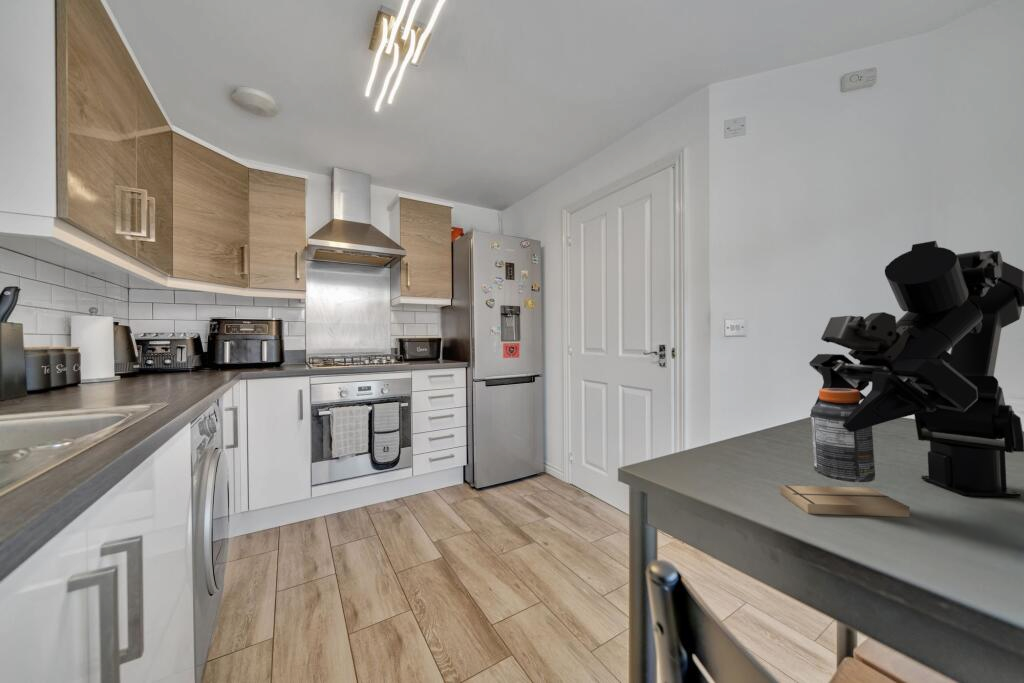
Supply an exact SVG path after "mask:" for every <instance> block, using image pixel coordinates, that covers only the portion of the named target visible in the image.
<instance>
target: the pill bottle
mask: <svg viewBox="0 0 1024 683" xmlns="http://www.w3.org/2000/svg"><path fill="white" fill-rule="evenodd" d="M860 392H861V391H860ZM860 392H859V390H855V389H844V388H825V389H822V388H820V389H818V393H819V394H818V396H819V399H820V402H819V403H818V404H816V405H815V404H814V405H812V407H811V409H810V414H811V417H810V423H811V424H810V425H811V438H812V453H813V454H812V455H813V470H814V471H815V473H816V474H817V475H819V476H821V477H823V478H826V479H830V480H833V481H837V482H842V483H851V484H866V483H871V482H873V481H874V480H875V478H876V470H875V454H874V450H875V449H874V438H873V426H870V427H867V428H864V429H860V430H857V431H854V432H849V431H847V430H846V429H845V428H844V427H843V424H844V422H845V421H846V420H847V418H848V417H849V416H850V414H851V413H852V412H853V411H854V410H855V409H856V407H857V406H858V405H859V404H860V403H861V401H862V400H861V398H860Z"/></svg>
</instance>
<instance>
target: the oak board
mask: <svg viewBox="0 0 1024 683" xmlns="http://www.w3.org/2000/svg"><path fill="white" fill-rule="evenodd" d="M779 488H780V490H779V491H780V495H781V496H782V497H784V498H785V499H787V500H788V501H790V503H792V504H794V505H795V506H797V507H798V508H799V509H800V510H802V511H804V512H805V513H806V514H811V515H813V514H814V515H815V514H816V515H817V514H818V515H840V516H841V515H843V516H844V515H845V516H846V515H847V516H872V517H873V516H876V517H878V516H879V517H902V518H903V517H904V518H906V517H907V518H908V517H909V518H911V517H910V516H911V515H910V514H911V513H910V506H908V505H907V504H904V503H902V502H900V501H898V500H896V499H894V498H892V497H890V496H889V495H885V494H884V493H881V492H880V491H877V490H875V489H873V488H870V487H856V486H855V487H854V486H851V487H848V486H844V487H843V486H813V485H810V486H809V485H780V486H779Z"/></svg>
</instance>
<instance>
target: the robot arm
mask: <svg viewBox="0 0 1024 683" xmlns="http://www.w3.org/2000/svg"><path fill="white" fill-rule="evenodd" d="M1001 253H1002V252H1001V251H1000V250H998V251H993V250H992V249H991V250H985V251H980V250H977V251H972V252H965V253H964V252H963V253H958V254H956V253H955V252H954V251H953V250H952V249H948V248H945V247H940V246H939V245H938V243H937V240H932V241H925V242H920V243H915V244H913V243H912V246H911V250H909V251H906V252H905V253H903V254H900V255H899V256H897V257H895V258H894V259H893V260H891V262H889V263H888V265H886V266H885V268H884V275H885V278H886V279H887V282H888V283H889V284H888V285H889V286H890V288H891V291H892V293H893V295H894V297H895V300H896V302H897V304H898V307H899V308H900V309H901V310H902V312H905V314H903V316H902V317H901V318H900V319H899V320H897V318H896V316H895V315H893V314H891V313H887V312H885V311H882V312H872V313H870V314H868V315H867V316H866V317H864V316H862V315H859V316H858V315H856V316H855V315H842V316H834V317H830V318H829V320H828V323H827V325H826V327H825V329H824V331H823V334H822V336H821V338H820V339H821V341H823V342H825V343H833V344H835V345H838V346H841V347H844V348H846V349H849V350H850V351H849V352H848V353H847V355H849V356H850V357H852V358H853V359H854V360H858V361H859V362H858V364H856V363H854V362H853V361H852V360H851V359H849V358H848V357H847V356H846V355H844V354H837V353H817V355H815V356H814V357H813V358H812V359H811V361H809V362H808V364H809V366H810V367H811V368H812V369H814V370H815V371H816V372H817V373H819V375H821V376H822V380H823V384H822V387H821V389H825V388H844V389H855V390H859V392H860V398H861V400H860V402H859V405H858V406H857V407H856V409H855V410H854V411H853V412H852V413H851V414H850V416H849V417H848V418H847V420H846V421H845V422H844V424H843V427H844V428H845V429H846V430H847V431H849V432H854V431H857V430H860V429H864V428H867V427H870V426H872V427H873V426H877V425H880V424H883V423H887V422H890V421H894V420H898V419H902V418H905V417H909V416H910V417H911V416H912V415H914V422H915V427H916V433H917V440H918V441H922V442H924V441H927V442H929V449H930V450H928V452H927V464H928V465H927V466H928V475H921V479H922V480H924V481H926V482H929V483H931V484H934V485H935V486H940V487H942V488H945V489H948V490H950V491H953V492H955V493H957V494H960V495H964V496H971V497H973V496H974V497H978V496H979V497H1005V498H1006V497H1007V498H1008V497H1009V498H1010V497H1013V498H1015V497H1016V498H1019V497H1022V494H1021V493H1022V492H1019V491H1015V490H1013V489H1009V488H1008V487H1007V485H1008V484H1007V465H1006V453H1010V454H1013V453H1014V452H1016V453H1023V452H1024V431H1023V425H1022V420H1021V417H1020V416H1019V415H1017V414H1016V413H1015V411H1014V410H1013V407H1012V405H1010V404H1006V402H1005V397H1004V392H1003V388H1002V387H1001V386H1000V385H999V380H998V379H997V378H996V377H995V372H996V364H997V358H998V351H999V345H1000V339H1001V333H1002V329H1003V328H1005V327H1008V326H1010V325H1012V324H1013V323H1015V322H1017V321H1019V320H1020V319H1021V315H1022V311H1023V307H1024V270H1022V269H1021V268H1019V267H1016V266H1014V265H1012V264H1010V263H1007V262H1005V261H1004V260H1003V256H1002V254H1001ZM949 351H950V353H949ZM870 382H871V386H872V387H871V390H870V391H869V392H868V393H867V394H866V396H865V394H864V393H862V391H864V390H866V388H867V387H869V385H870ZM819 402H820V399H819V395H818V397H817V399H816V400H815V403H814V405H816V404H818V403H819ZM809 417H810V418H811V413H810V415H809ZM1002 439H1004V440H1002Z"/></svg>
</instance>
